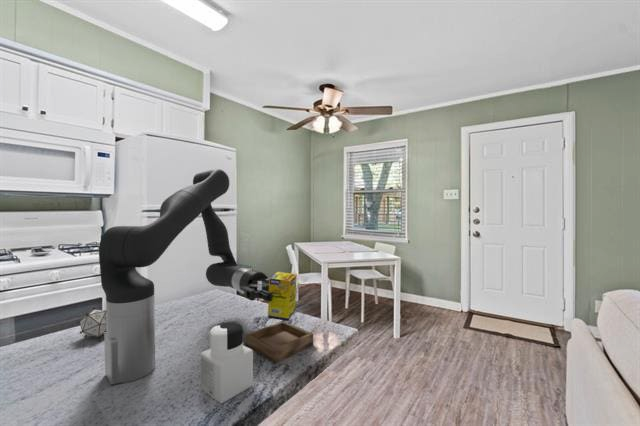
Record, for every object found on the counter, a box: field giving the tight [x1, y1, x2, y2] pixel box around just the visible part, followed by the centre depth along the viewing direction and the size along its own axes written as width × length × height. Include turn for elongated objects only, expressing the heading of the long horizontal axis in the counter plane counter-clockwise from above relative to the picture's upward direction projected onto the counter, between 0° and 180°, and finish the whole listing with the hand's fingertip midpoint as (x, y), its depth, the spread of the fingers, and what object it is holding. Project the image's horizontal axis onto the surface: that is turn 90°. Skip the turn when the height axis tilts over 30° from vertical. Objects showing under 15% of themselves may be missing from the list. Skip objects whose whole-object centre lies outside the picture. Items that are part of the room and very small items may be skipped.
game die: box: [76, 307, 107, 340], centre depth 85 cm, size 9×8×10 cm
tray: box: [244, 320, 314, 364], centre depth 79 cm, size 13×13×3 cm
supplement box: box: [267, 271, 298, 322], centre depth 78 cm, size 6×6×11 cm
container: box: [200, 321, 254, 404], centre depth 61 cm, size 8×8×13 cm
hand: (283, 293), depth 78 cm, fingers closed on supplement box, 8 cm apart
